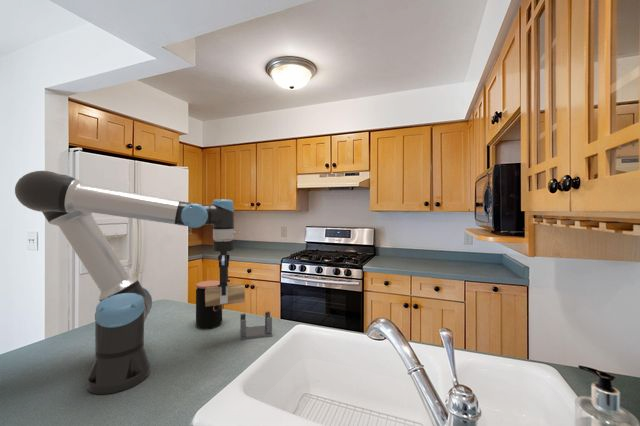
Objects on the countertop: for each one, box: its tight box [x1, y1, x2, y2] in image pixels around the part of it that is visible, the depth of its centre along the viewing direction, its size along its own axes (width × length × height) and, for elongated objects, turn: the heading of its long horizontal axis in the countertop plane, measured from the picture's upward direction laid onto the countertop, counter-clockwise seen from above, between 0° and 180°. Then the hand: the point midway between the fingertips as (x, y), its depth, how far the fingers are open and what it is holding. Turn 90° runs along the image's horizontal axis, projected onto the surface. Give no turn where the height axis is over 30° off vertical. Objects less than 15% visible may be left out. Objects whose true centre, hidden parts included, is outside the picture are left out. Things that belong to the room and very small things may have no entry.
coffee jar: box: [195, 279, 223, 330], centre depth 122 cm, size 11×11×18 cm
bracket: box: [239, 310, 273, 341], centre depth 114 cm, size 9×12×7 cm
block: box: [205, 283, 246, 307], centre depth 107 cm, size 4×14×6 cm, turn 105°
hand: (224, 301), depth 107 cm, fingers closed on block, 4 cm apart
